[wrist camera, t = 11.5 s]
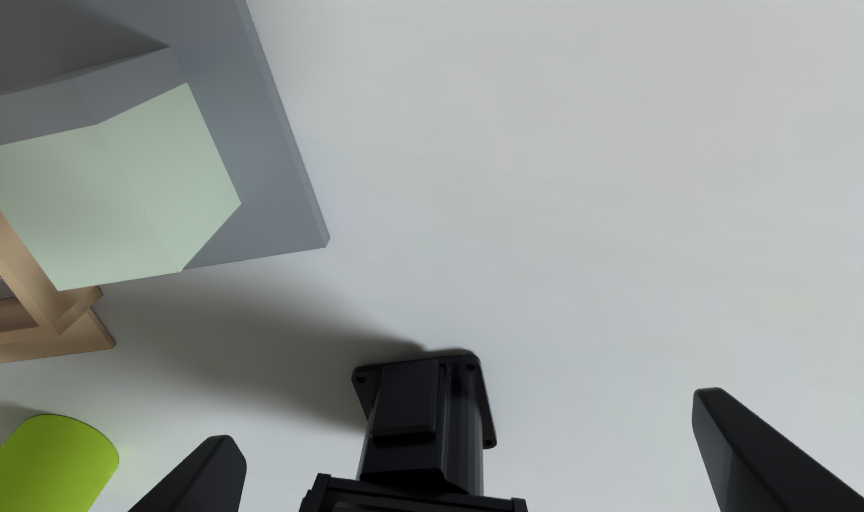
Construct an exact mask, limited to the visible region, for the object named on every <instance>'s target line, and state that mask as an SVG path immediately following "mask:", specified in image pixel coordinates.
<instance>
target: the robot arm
mask: <svg viewBox="0 0 864 512" xmlns="http://www.w3.org/2000/svg"><path fill="white" fill-rule="evenodd" d="M467 364H473V365H472V366H468V365H467ZM360 376H363V377H360ZM351 380H352V383H353V385H354V388H355V390H356V393H357V395H358V398H359V400H360V403H361V405H362V408H363V410H364V413H365V415H366V418H367V420H368V425H367V429H366V434H365V439H364V443H363V448H362V452H361V457H360V462H359V466H358V471H357V475H356V480H352V479H344V478H336V477H331V475H330V474H322V473H318V475H317V477H316V480H315V482H314V485H313V487H312V490H308V491H307V494H306V496H305V497H304V498H303V499H302V503H301V506H300V509H299V512H528V510H527V506H526V501H525V499H520V498H511V500H510V499H502V498H494V497H486V496H484V483H483V449H490V448H493V447H495V446H496V445H497V437H496V431H495V427H494V422H493V418H492V413H491V408H490V404H489V399H488V394H487V390H486V385H485V381H484V376H483V371H482V367H481V362H480V359H479V358H478V357H477V356H475V355H473V354H466V355H457V356H449V357H440V358H431V359H422V360H413V361H405V362H396V363H387V364H378V365H369V366H361V367H357V368H355V369H354V371H353V373H352V377H351ZM692 427H693V431H694V435H695V438H696V441H697V444H698V447H699V450H700V452H701V455H702V458H703V461H704V464H705V467H706V470H707V473H708V476H709V479H710V482H711V485H712V488H713V491H714V494H715V496H716V499H717V502H718V505H719V508H720V511H721V512H864V497H862V496H861V495H860V494H858V493H857V492H856V491H855V490H853V489H852V488H851V487H849V486H848V485H847V484H846V483H844V482H843V481H842V480H840V479H839V478H838V477H836V476H835V475H834V474H833V473H831V472H830V471H829V470H827V469H826V468H825V467H823V466H822V465H821V464H820V463H818V462H817V461H816V460H814V459H813V458H812V457H810V456H809V455H808V454H807V453H805V452H804V451H803V450H801V449H800V448H799V447H797V446H796V445H795V444H794V443H792V442H791V441H790V440H788V439H787V438H786V437H784V436H783V435H782V434H781V433H779V432H778V431H777V430H775V429H774V428H773V427H772V426H770V425H769V424H768V423H766V422H765V421H764V420H762V419H761V418H760V417H759V416H757V415H756V414H755V413H753V412H752V411H751V410H749V409H748V408H747V407H746V406H744V405H743V404H742V403H740V402H739V401H738V400H736V399H735V398H734V397H733V396H731V395H730V394H729V393H727V392H726V391H725V390H723V389H721V388H718V387H713V388H702V389H697V390H696V391H695V392H694V396H693V410H692ZM246 470H247V465H246V460H245V458H244V456H243V454H242V453H241V451H240V449H239V448H238V446H237V445H236V443H235V441H234V440H233V438H232V437H231V436H229V435H218V436H211V437H209V438H207V439H206V440H205V441H204V442H202V443H201V444H200V445H199V446H198V447H197V448H196V449H195V450H194V451H193V452H192V453H191V454H189V455H188V456H187V457H186V458H185V459H184V460H183V461H182V462H181V463H180V464H179V465H178V466H176V467H175V468H174V469H173V470H172V471H171V472H170V473H169V474H168V475H167V476H166V477H165V478H163V479H162V480H161V481H160V482H159V483H158V484H157V485H156V486H155V487H154V488H153V489H152V490H150V491H149V492H148V493H147V494H146V495H145V496H144V497H143V498H142V499H141V500H140V501H139V502H137V503H136V504H135V505H134V506H133V507H132V508H131V509H130V510H129V511H128V512H238V509H239V504H240V499H241V495H242V490H243V485H244V481H245V476H246Z"/></svg>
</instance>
